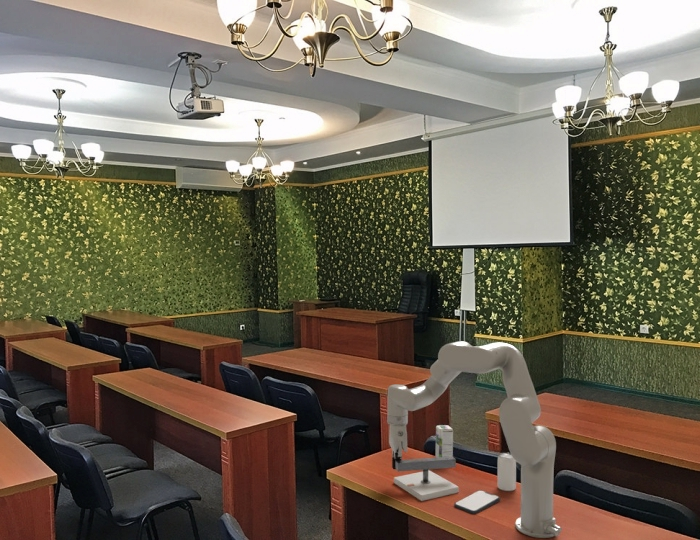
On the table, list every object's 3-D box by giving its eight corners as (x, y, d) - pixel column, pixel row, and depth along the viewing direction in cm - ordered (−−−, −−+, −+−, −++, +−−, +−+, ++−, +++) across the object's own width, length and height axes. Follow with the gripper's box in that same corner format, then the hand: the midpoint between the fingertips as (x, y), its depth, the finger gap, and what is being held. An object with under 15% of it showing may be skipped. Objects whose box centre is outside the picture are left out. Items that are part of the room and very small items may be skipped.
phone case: (474, 516, 184) (501, 501, 195) (474, 511, 184) (501, 496, 195) (452, 508, 191) (479, 493, 202) (452, 503, 191) (479, 489, 202)
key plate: (458, 492, 202) (458, 486, 202) (421, 501, 195) (421, 494, 195) (429, 475, 218) (429, 469, 218) (393, 482, 211) (393, 476, 211)
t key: (452, 477, 210) (452, 456, 210) (455, 480, 207) (455, 459, 207) (395, 482, 206) (395, 460, 206) (397, 485, 203) (397, 463, 203)
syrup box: (434, 460, 235) (435, 425, 235) (448, 459, 236) (448, 424, 236) (439, 464, 229) (439, 429, 229) (453, 464, 230) (453, 428, 230)
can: (513, 484, 209) (514, 452, 209) (517, 492, 203) (517, 458, 202) (496, 484, 210) (496, 452, 210) (498, 491, 203) (499, 458, 203)
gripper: (412, 424, 201) (411, 475, 201) (402, 413, 216) (402, 460, 216) (391, 425, 200) (391, 476, 200) (383, 413, 215) (382, 461, 215)
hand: (396, 468), depth 208 cm, fingers closed
